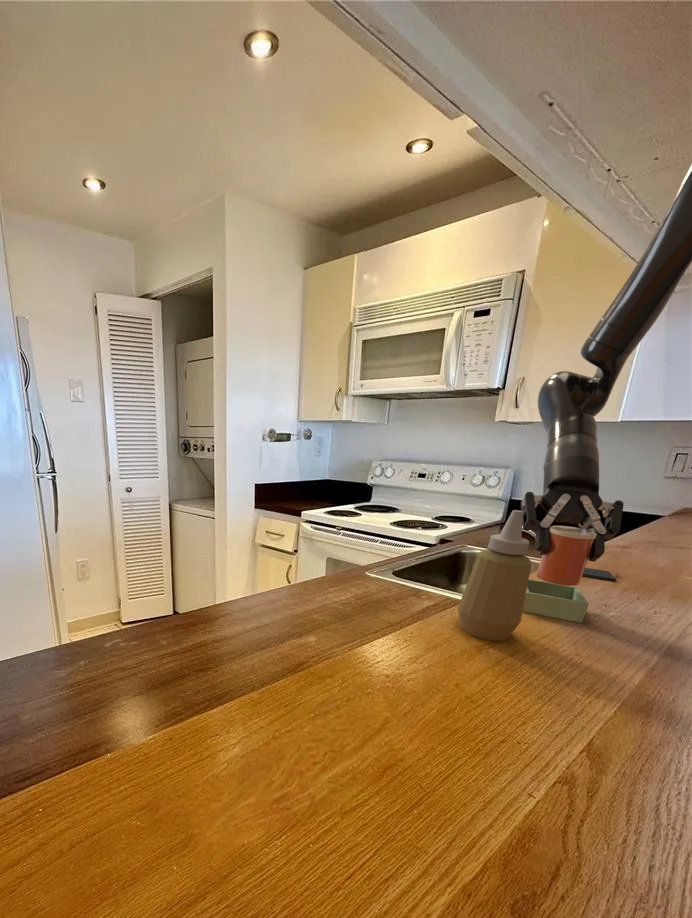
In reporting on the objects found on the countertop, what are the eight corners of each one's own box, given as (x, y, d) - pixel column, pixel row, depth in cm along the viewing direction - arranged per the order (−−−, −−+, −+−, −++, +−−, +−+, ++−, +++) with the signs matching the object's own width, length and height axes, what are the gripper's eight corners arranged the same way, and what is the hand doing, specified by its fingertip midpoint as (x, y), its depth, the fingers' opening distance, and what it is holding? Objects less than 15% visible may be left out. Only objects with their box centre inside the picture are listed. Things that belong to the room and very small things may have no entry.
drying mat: (607, 573, 102) (608, 571, 102) (615, 581, 97) (616, 579, 97) (570, 567, 105) (571, 565, 104) (575, 575, 99) (576, 572, 99)
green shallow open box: (569, 609, 80) (577, 587, 78) (580, 628, 73) (589, 603, 71) (514, 599, 83) (520, 577, 81) (519, 616, 76) (526, 592, 74)
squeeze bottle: (454, 642, 65) (488, 512, 58) (449, 620, 72) (479, 502, 66) (519, 654, 63) (562, 521, 56) (507, 630, 70) (545, 509, 63)
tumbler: (576, 577, 77) (592, 529, 74) (584, 588, 72) (601, 537, 69) (533, 570, 79) (547, 523, 76) (538, 581, 74) (553, 531, 71)
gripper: (530, 449, 77) (525, 536, 71) (634, 457, 73) (638, 549, 67) (515, 479, 84) (509, 560, 78) (609, 487, 80) (611, 574, 74)
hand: (569, 555), depth 73 cm, fingers closed on tumbler, 6 cm apart
